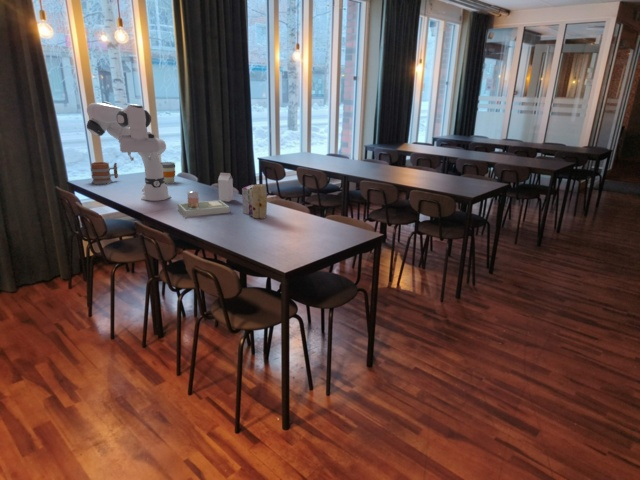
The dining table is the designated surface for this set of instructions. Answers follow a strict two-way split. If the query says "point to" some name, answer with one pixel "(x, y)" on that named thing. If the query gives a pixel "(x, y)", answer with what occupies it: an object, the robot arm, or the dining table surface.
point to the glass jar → (193, 200)
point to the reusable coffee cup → (168, 171)
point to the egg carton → (214, 204)
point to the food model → (259, 201)
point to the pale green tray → (202, 209)
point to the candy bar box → (247, 199)
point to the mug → (102, 172)
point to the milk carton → (225, 187)
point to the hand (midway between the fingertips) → (141, 160)
